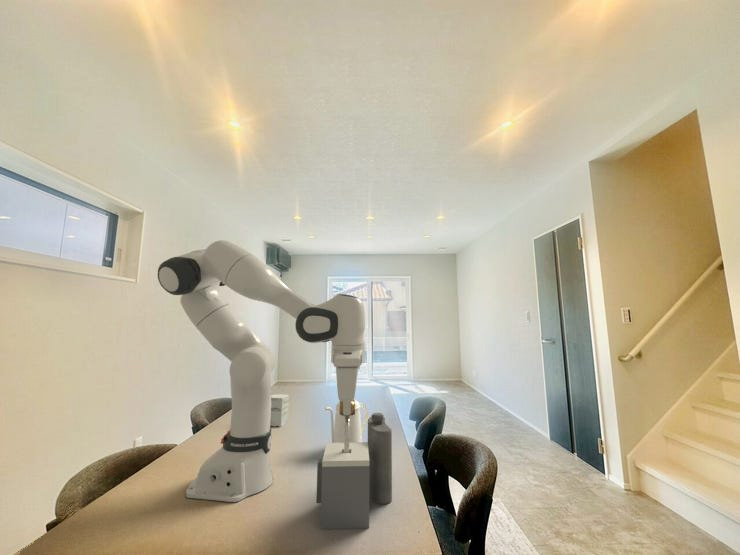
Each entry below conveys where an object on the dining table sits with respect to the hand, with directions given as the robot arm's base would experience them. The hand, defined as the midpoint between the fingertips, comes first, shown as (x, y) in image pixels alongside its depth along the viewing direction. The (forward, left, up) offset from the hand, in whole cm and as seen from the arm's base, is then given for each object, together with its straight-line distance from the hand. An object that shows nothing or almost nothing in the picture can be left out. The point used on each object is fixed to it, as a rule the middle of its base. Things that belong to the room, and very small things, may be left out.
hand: (347, 411), depth 77 cm
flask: (+9, +11, -24) cm, 28 cm away
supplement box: (-34, +68, -24) cm, 80 cm away
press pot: (0, 0, -24) cm, 24 cm away
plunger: (0, 0, -22) cm, 22 cm away
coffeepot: (-1, +38, -24) cm, 45 cm away
